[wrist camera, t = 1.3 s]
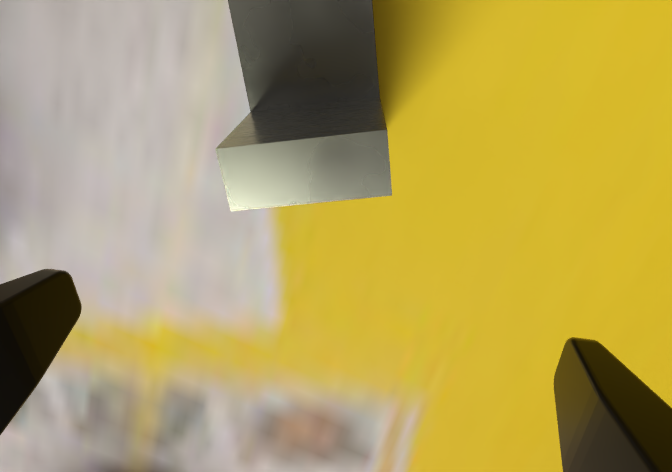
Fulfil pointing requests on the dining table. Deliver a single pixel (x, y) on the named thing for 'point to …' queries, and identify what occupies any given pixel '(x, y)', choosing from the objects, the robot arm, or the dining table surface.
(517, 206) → the dining table surface
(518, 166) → the dining table surface
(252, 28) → the bracket
